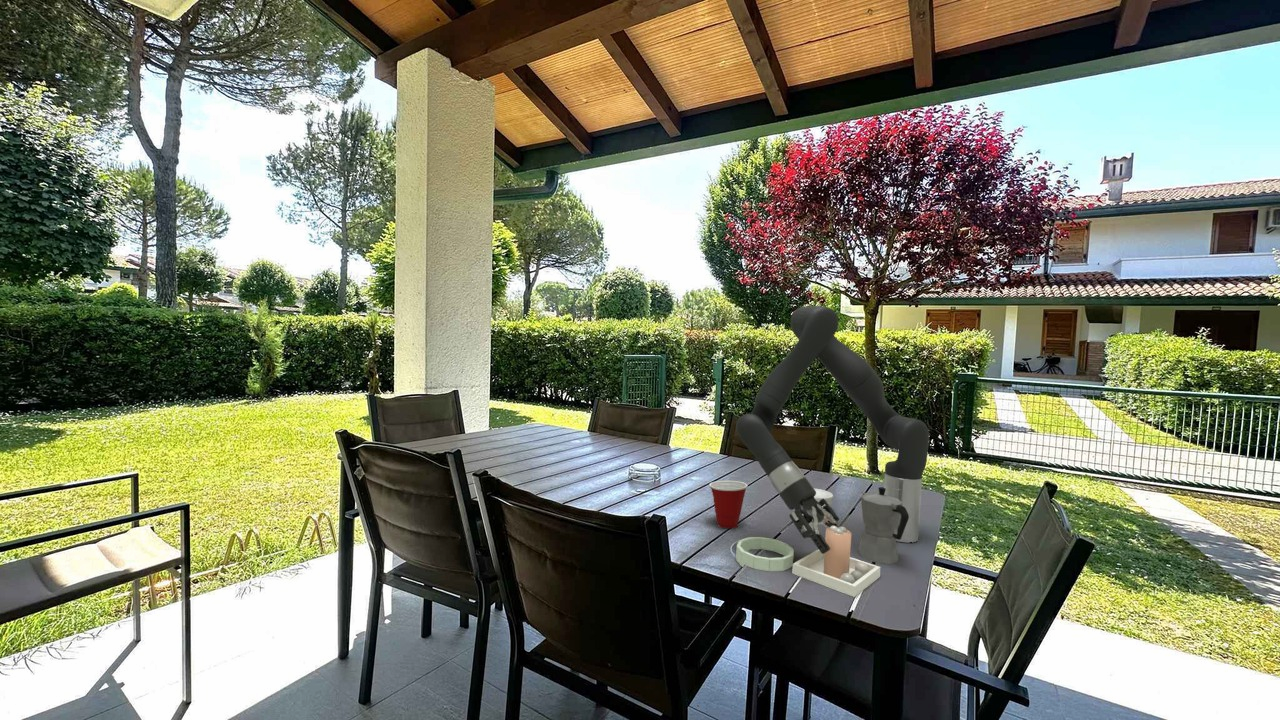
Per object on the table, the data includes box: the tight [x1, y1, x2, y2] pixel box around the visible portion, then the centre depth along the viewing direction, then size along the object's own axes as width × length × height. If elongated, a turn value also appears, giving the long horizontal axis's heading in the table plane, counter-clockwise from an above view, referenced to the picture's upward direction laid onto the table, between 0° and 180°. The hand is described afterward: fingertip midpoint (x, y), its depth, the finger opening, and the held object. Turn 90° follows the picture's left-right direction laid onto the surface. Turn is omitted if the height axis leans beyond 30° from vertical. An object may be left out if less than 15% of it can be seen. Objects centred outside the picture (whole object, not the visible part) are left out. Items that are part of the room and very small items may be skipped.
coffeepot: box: [857, 486, 909, 565], centre depth 127 cm, size 15×9×18 cm, turn 14°
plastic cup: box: [709, 480, 748, 529], centre depth 148 cm, size 11×11×12 cm
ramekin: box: [813, 487, 834, 507], centre depth 166 cm, size 11×11×5 cm
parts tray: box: [791, 548, 881, 598], centre depth 117 cm, size 14×14×4 cm
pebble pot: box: [823, 526, 852, 579], centre depth 117 cm, size 5×5×11 cm
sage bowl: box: [735, 536, 795, 572], centre depth 124 cm, size 13×13×4 cm
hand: (835, 546), depth 117 cm, fingers open, 8 cm apart
